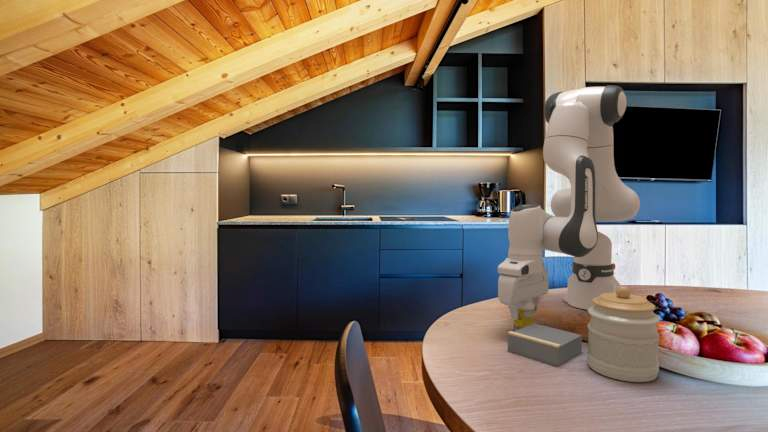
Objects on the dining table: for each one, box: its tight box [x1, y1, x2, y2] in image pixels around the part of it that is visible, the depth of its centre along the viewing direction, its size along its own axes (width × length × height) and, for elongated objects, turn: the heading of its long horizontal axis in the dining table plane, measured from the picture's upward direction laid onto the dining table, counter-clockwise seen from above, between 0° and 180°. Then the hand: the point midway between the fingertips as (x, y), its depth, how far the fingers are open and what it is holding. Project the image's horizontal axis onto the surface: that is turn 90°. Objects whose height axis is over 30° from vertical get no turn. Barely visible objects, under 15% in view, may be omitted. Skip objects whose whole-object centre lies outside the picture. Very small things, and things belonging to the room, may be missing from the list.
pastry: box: [573, 320, 590, 342], centre depth 105 cm, size 9×7×4 cm
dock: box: [507, 323, 583, 367], centre depth 95 cm, size 12×12×4 cm
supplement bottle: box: [513, 299, 536, 331], centre depth 110 cm, size 5×5×10 cm
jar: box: [586, 285, 661, 383], centre depth 85 cm, size 13×13×18 cm
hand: (524, 315), depth 109 cm, fingers open, 8 cm apart
